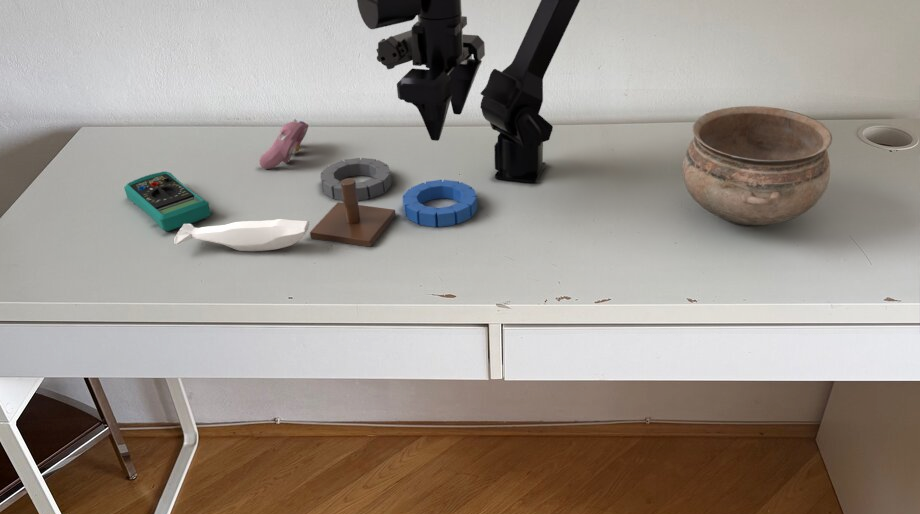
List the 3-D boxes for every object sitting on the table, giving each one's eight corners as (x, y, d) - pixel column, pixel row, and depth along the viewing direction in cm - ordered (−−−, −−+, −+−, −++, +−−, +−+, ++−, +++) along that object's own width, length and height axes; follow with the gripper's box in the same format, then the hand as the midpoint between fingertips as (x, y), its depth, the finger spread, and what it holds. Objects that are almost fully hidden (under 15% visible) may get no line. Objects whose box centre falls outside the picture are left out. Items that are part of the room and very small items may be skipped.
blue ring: (485, 196, 129) (485, 184, 127) (462, 230, 121) (462, 218, 120) (419, 188, 132) (418, 176, 130) (393, 221, 124) (392, 209, 122)
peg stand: (395, 215, 125) (391, 170, 121) (370, 247, 118) (364, 200, 114) (338, 208, 127) (332, 163, 123) (310, 238, 121) (302, 192, 117)
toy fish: (306, 258, 116) (301, 232, 114) (175, 257, 118) (168, 231, 116) (315, 238, 121) (311, 212, 118) (189, 236, 122) (182, 211, 120)
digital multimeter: (171, 183, 136) (166, 166, 134) (213, 217, 126) (209, 199, 125) (125, 199, 132) (120, 181, 131) (165, 235, 123) (160, 216, 121)
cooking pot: (834, 265, 110) (856, 177, 103) (680, 258, 113) (691, 171, 106) (804, 176, 130) (821, 97, 123) (674, 172, 133) (683, 94, 125)
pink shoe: (282, 180, 139) (294, 144, 135) (255, 167, 138) (267, 130, 134) (304, 153, 147) (316, 119, 142) (279, 141, 146) (290, 106, 142)
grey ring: (401, 173, 136) (400, 161, 135) (374, 204, 128) (373, 192, 127) (340, 166, 139) (338, 154, 137) (310, 196, 131) (308, 184, 130)
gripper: (408, -11, 123) (417, 97, 132) (353, 32, 109) (367, 148, 118) (484, -7, 120) (487, 103, 129) (437, 37, 106) (444, 157, 115)
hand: (446, 126), depth 123 cm, fingers open, 9 cm apart
